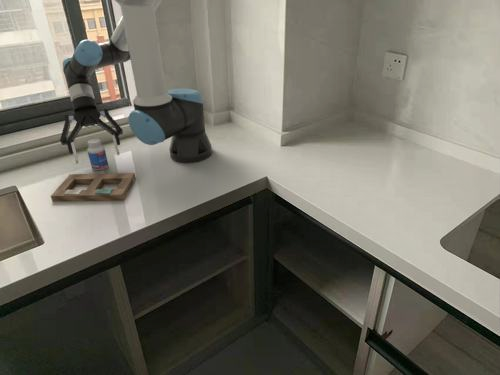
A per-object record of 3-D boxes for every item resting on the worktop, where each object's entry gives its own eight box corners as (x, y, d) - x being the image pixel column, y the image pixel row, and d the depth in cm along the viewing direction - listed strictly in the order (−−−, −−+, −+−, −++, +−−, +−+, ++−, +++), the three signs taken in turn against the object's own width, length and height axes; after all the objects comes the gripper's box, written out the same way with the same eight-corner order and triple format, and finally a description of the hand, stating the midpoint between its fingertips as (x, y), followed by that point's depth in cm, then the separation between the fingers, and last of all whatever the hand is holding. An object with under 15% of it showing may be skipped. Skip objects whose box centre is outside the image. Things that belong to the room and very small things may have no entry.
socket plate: (135, 178, 118) (134, 172, 117) (123, 200, 107) (122, 193, 106) (71, 179, 119) (69, 173, 118) (52, 201, 108) (50, 195, 106)
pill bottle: (103, 171, 123) (96, 144, 118) (89, 170, 124) (81, 143, 119) (111, 163, 128) (105, 138, 123) (97, 162, 129) (90, 137, 124)
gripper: (120, 100, 133) (135, 154, 129) (46, 111, 125) (60, 169, 121) (119, 89, 127) (135, 146, 122) (41, 100, 118) (55, 161, 114)
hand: (98, 158), depth 122 cm, fingers open, 12 cm apart
